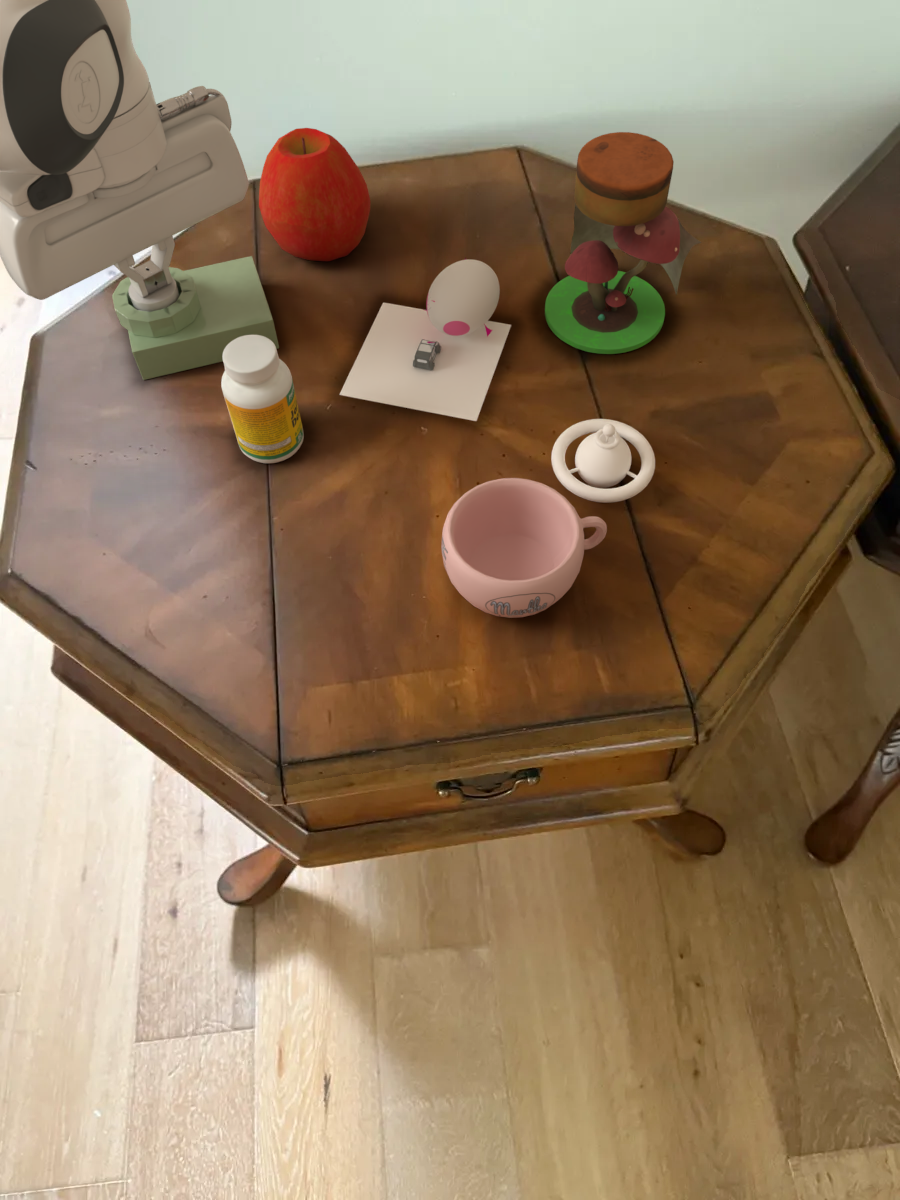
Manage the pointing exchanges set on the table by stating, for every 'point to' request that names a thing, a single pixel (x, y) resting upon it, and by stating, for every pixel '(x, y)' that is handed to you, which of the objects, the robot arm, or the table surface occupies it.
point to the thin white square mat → (425, 364)
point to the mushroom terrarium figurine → (618, 246)
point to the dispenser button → (155, 298)
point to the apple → (313, 196)
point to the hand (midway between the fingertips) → (153, 286)
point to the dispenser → (196, 317)
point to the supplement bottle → (261, 400)
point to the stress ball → (463, 297)
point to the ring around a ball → (603, 460)
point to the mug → (515, 546)
